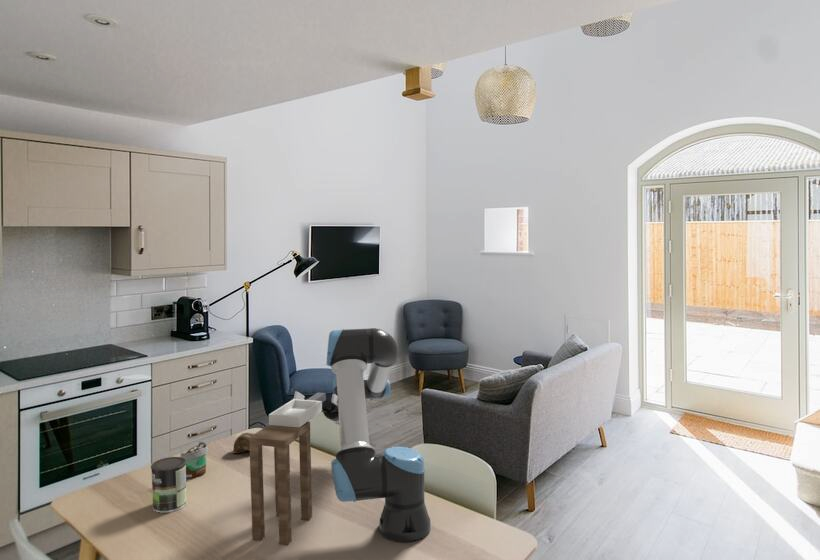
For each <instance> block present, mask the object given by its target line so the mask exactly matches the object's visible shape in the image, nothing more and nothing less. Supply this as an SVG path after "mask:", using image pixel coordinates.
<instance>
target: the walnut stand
mask: <svg viewBox="0 0 820 560" xmlns="http://www.w3.org/2000/svg"><path fill="white" fill-rule="evenodd" d="M296 440H298V441H299V445H298V447H299V451H298V452H299V482H300V486H299V488H300V491H299V492H300V521H305V522H306V521H307V522H309V521H310V520H311V519H312V518H313V500H312V499H313V497H312V496H313V495H312V494H313V493H312V492H313V491H312V490H313V488H312V457H311V456H312V455H311V454H312V452H311V451H312V450H311V449H312V448H311V421H308V422H306V423H305V424H304V425H302V426H301V427H300V428H298V427H286V426H275V425H269V424H267V425H266V426H264V427H263V428H261V429H260V430H258V431H257V432H256V433H255V434H254V435H252V436H251V437H249V446H250V451H249V470H250V471H249V473H250V474H249V475H250V503H251V505H250V506H251V535H252V541H255V542H256V541H257V542H261V541H262V540H263V539H264V538H265V537H266V535H265V534H266V528H265V495H264V490H265V489H264V462H263V461H264V460H263V457H264V456H263V447H271V448H273V454H274V455H273V457H274V460H273V461H274V488H275V491H274V492H275V493H274V494H275V496H274V497H275V517H277V518H278V534H279V535H278V539H279V540H278V541H279V543H278V544H279V545H283V546H289V545H290V543H291V542H292V541H293V538H292V537H293V535H292V506H291V505H292V501H291V499H292V497H291V495H292V494H291V461H290V460H291V459H290V445H291V444H292V443H293V442H295V441H296Z"/></svg>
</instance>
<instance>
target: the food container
mask: <svg viewBox="0 0 820 560" xmlns="http://www.w3.org/2000/svg"><path fill="white" fill-rule="evenodd" d="M198 442H199V443H198V444H197V445H195V446H193V447H191V448H189V449H188V450H187V451H186V452H181V453H180V456H179V457H182V458H184V459H185V460H186V480H192V479H193V478H194V479H197V477H198V478H201V477H202V476H204V475H205V474H206V471H207V470H206V469H207V453H208V452H209V447H208V445H207V443H206V442H204V441H198Z"/></svg>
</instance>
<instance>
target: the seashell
mask: <svg viewBox="0 0 820 560" xmlns="http://www.w3.org/2000/svg"><path fill="white" fill-rule="evenodd" d="M254 434H255V433H254V432H244V433H242V434H240V435H239V436H238V437H237V438H236V439H235V441H234V444H233V450H232V453H234V454H238V453H243V452H246V451H249V452H250V446H249V437H251V436H252V435H254Z"/></svg>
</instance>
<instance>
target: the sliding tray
mask: <svg viewBox="0 0 820 560" xmlns="http://www.w3.org/2000/svg"><path fill="white" fill-rule="evenodd" d="M326 396H327V394H326V392H316V393H315V394H313V395H312V396H310V397H308V398H309V399H307V400H300V399H294V398H292V399H291V400H290V401H288V402H287V403H284V404H283V405H281V406H279V408H277V409H275V410H274V411H271V413H269V414H268V425H275V426H286V427H298V428H300V427H301V426H302V425H304V424H305V423H306V422H310V420H312V419H313V418H314V417H316V416H318V415H319V414H320V413H321V412H323V411H322V403H323V402H324V401H325V400H327V397H326Z"/></svg>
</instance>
